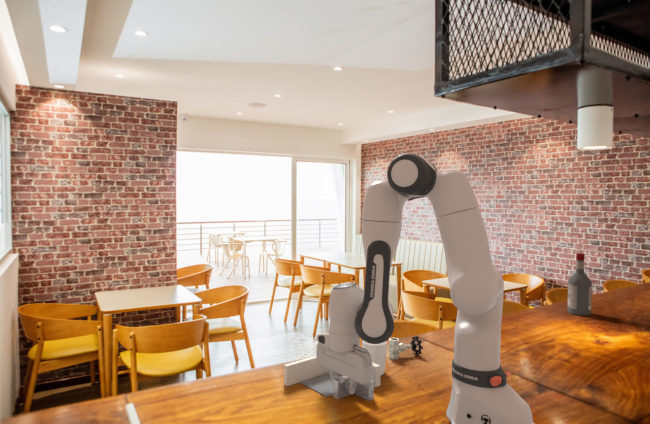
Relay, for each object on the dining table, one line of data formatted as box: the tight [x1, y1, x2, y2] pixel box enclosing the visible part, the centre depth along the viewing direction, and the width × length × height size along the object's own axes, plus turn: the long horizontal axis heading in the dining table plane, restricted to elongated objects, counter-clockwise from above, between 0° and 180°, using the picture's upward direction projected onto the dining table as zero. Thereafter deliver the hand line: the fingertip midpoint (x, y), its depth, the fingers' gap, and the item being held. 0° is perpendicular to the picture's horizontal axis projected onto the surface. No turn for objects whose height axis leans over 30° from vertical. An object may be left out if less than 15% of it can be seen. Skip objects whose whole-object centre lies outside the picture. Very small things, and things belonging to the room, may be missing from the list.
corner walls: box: [283, 355, 382, 388], centre depth 130 cm, size 18×22×6 cm
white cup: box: [361, 339, 388, 376], centre depth 140 cm, size 8×8×10 cm
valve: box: [387, 335, 424, 360], centre depth 155 cm, size 7×7×12 cm
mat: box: [300, 373, 342, 398], centre depth 131 cm, size 12×15×1 cm
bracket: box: [332, 376, 375, 402], centre depth 121 cm, size 8×8×5 cm
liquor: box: [566, 252, 593, 317], centre depth 218 cm, size 9×9×30 cm
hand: (343, 389), depth 123 cm, fingers open, 5 cm apart
